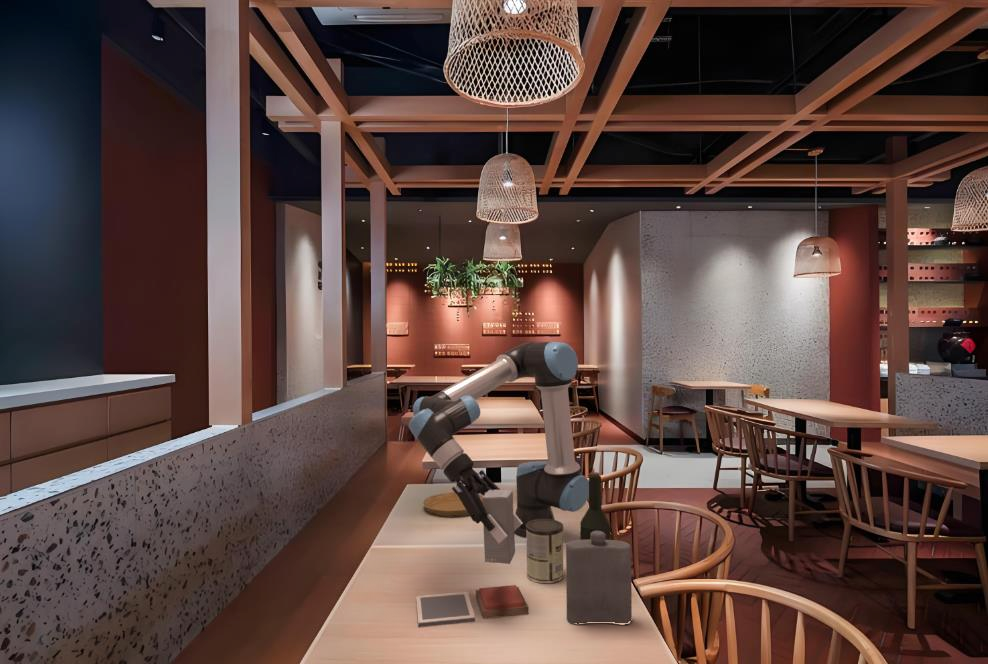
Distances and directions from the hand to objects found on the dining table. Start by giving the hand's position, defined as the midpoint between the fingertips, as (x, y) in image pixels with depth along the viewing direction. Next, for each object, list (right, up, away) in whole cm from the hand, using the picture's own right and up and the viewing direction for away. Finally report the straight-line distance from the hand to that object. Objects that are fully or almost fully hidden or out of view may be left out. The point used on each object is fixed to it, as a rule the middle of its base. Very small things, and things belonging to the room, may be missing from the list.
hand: (511, 533), depth 133 cm
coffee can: (+10, -19, +18) cm, 28 cm away
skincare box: (-3, -7, +1) cm, 7 cm away
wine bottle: (+22, -18, +10) cm, 31 cm away
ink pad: (-2, -18, +1) cm, 18 cm away
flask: (+20, -18, -6) cm, 28 cm away
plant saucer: (-19, -20, +79) cm, 83 cm away
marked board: (-16, -18, -1) cm, 24 cm away
